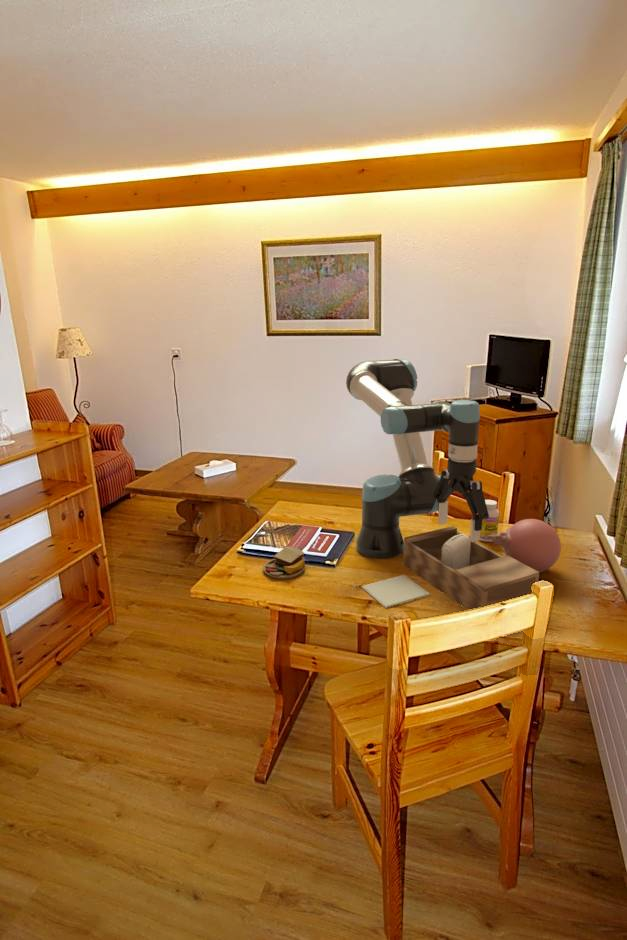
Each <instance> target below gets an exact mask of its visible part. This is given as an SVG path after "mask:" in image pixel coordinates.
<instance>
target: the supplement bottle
mask: <svg viewBox="0 0 627 940" xmlns="http://www.w3.org/2000/svg"><path fill="white" fill-rule="evenodd" d="M485 503H486V507H487V510H488V514H489V518H486V519H483V520H482V529H481V530H480V540H479V541H482V542H486V543H492V542H493V540H491V539H488V536H489V535H497V534H498V532H499V531H498V530H499V521H500V520H499V519H500V511H499V510H498V509H497V506H498V502H497V501H496V500H492V499H485ZM493 543H494V542H493Z"/></svg>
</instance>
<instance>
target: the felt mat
mask: <svg viewBox="0 0 627 940" xmlns="http://www.w3.org/2000/svg"><path fill="white" fill-rule="evenodd" d="M361 589H363V590H364V591H365V592H366V593H367V594H369V596H370V597H372V598H373V599H374V600H375V601H376V602H377V603H379V604H380V605H381V606H382V607H383V608H384V609H388V607H389V608H392V607H395V606H398V605H397V604H399V605H401V604H400V603H402V604H404V603H403V602H406V601H409V602H411V601H410V600H412V601H415V600H414V599H416V600H418V598H419V599H422V597H423V598H426V597H430V595H431V593H430V592H428V591H427V590H426V589H424V588H423V587H422V586H420V585H419V584H417V583H416V582H414V580H412V579H411V578H409V577H408V576H407V575H405V574H402V575H398V576H394V577H390V578H386V579H382V580H379V581H376V582H372V583H369V584H364V585H362V586H361ZM406 603H407V602H406ZM394 605H395V606H394ZM391 606H392V607H391Z"/></svg>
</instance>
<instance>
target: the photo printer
mask: <svg viewBox="0 0 627 940" xmlns="http://www.w3.org/2000/svg"><path fill="white" fill-rule="evenodd" d="M470 546H471V541H470V536H469V535H467V534H464V533H461V534H459V535H456V536H453V537H452V538H450V539H449V540H448V541H446V542H445V544H444V545H443V546H442V555H441V557H440V561H441V562H443V563H444V564H446V565H447V566H449V567H450V568H452V569H454V570H457V569H460V568H464V567H467V566H469V561H470Z"/></svg>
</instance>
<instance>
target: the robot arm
mask: <svg viewBox="0 0 627 940" xmlns="http://www.w3.org/2000/svg"><path fill="white" fill-rule="evenodd" d="M345 384H346V385H345V386H346V388H347V392H349V394H350V395H351V396H352V397H353V398H354V399H356V400H358V401H362V402H363V403H365V404H366V405H367V406H368V408H370V409H371V410H373V411H374V413H376V415H378V416H379V417H380V425H381V428H382V430H383V433H385V434H387V435H392V437H393V442H394V445H395V449H396V453H397V458H398V462H399V466H400V470H401V471H400V473H399V474H398V476H397V475H394V474H388V475H387V474H378V475H376V476H372V477H370V478H368V479H366V481H364V482H363V484H362V492H361V502H362V503H361V506H362V507H361V510H362V511H361V527H360V530H359V534H358V536H357V539H356V547H355V548H356V550H357V552H358V553H359V554H361V555H363V556H364V557H365V556H366V557H368V558H371V559H391V558H396V557H398V556H401V554H404V537H403V535H402V531H401V529H400V518H402V517H408V516H409V517H411V516H417V515H418V516H419V515H425V514H426V515H429V514H432V513H438V516H437V518H438V519H437V525H439V526H442V525H445V524H448V512H449V502H448V500H449V497H450V496H451V495H452V494H453V493H454V492H457V493H459V494H461V495H462V497H464V499H465V500H466V503H467V505H468V508H469V509H470V513H471V515H472V516H473V518H471V519H470V535H469V538H470V541H471V542H474V541H476V542H478V541H481V540H480V530H481V529H482V520H483V519H486V518H489V514H488V510H487V507H486V503H485V500H486V499H485V495H484V491H483V482H482V481H481V480H479V481H475V480H474V475H475V474H476V473H477V463H478V462H477V458H478V441H479V434H480V433H479V432H480V430H479V429H480V419H481V415H480V410H481V409H480V408H481V407H480V404H479V402H477V401H476V400H469V399H459V400H458V399H457V400H454V401H452V402H451V403H450V402H448V401H446V400H445V401H444V400H436V401H433V402H431V403H428V404H413V403H412V398H413V397H414V395H415V391H416V389H417V386H418V374H417V371H416V368H415V366H414V365H413V363H412V362H411V361H409V360H407V359H398V358H393V359H383V360H382V359H381V360H366V361H361V362H359V363H357V364H356V365H354V366H353V367H352V368H351V369H350V370H349V372H348V374H347V376H346V382H345ZM373 411H372V412H373ZM437 431H444V432H446V433H448V451H447V452H448V453H447V456H448V459H447V469H444V470H441V472H440V473H441V474H440V475H439V474H436V472H435V469H434V467H433V466H431V465H429V464H428V460H427V456H426V453H425V450H424V445H423V441H422V437H421V433H426V432H437Z"/></svg>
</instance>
